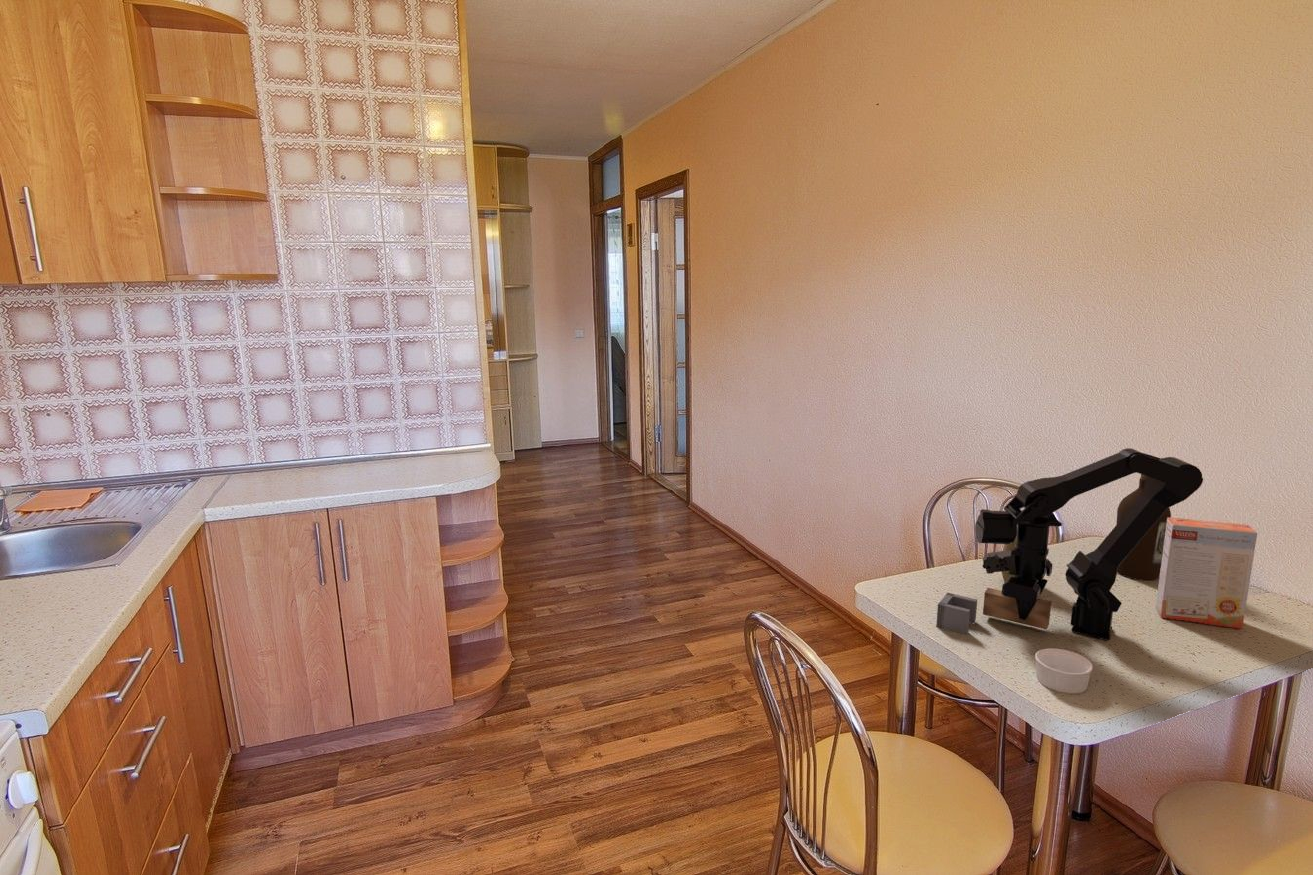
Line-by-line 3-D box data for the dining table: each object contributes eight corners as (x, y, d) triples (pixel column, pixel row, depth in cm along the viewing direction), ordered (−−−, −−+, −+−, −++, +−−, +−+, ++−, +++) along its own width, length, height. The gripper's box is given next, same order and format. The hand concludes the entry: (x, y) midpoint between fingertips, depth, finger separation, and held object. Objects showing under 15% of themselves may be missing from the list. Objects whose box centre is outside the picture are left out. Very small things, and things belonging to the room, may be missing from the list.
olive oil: (1104, 573, 172) (1117, 474, 167) (1116, 561, 179) (1128, 465, 174) (1156, 585, 165) (1171, 482, 160) (1166, 572, 172) (1181, 473, 167)
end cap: (975, 621, 148) (977, 599, 147) (966, 634, 143) (968, 611, 142) (945, 614, 152) (947, 592, 151) (936, 626, 146) (937, 604, 145)
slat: (1049, 623, 144) (1051, 601, 143) (1046, 629, 142) (1049, 606, 141) (985, 609, 151) (987, 587, 150) (982, 614, 149) (984, 592, 148)
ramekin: (1066, 701, 120) (1069, 678, 119) (1021, 675, 128) (1024, 654, 127) (1101, 689, 123) (1104, 666, 122) (1055, 665, 131) (1058, 643, 130)
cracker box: (1233, 618, 148) (1249, 523, 144) (1242, 630, 143) (1259, 532, 139) (1153, 606, 154) (1166, 515, 150) (1159, 618, 149) (1173, 523, 144)
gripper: (998, 524, 154) (992, 591, 158) (977, 550, 140) (971, 622, 143) (1056, 534, 148) (1048, 603, 151) (1040, 562, 133) (1032, 638, 136)
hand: (1024, 616), depth 146 cm, fingers closed on slat, 3 cm apart
